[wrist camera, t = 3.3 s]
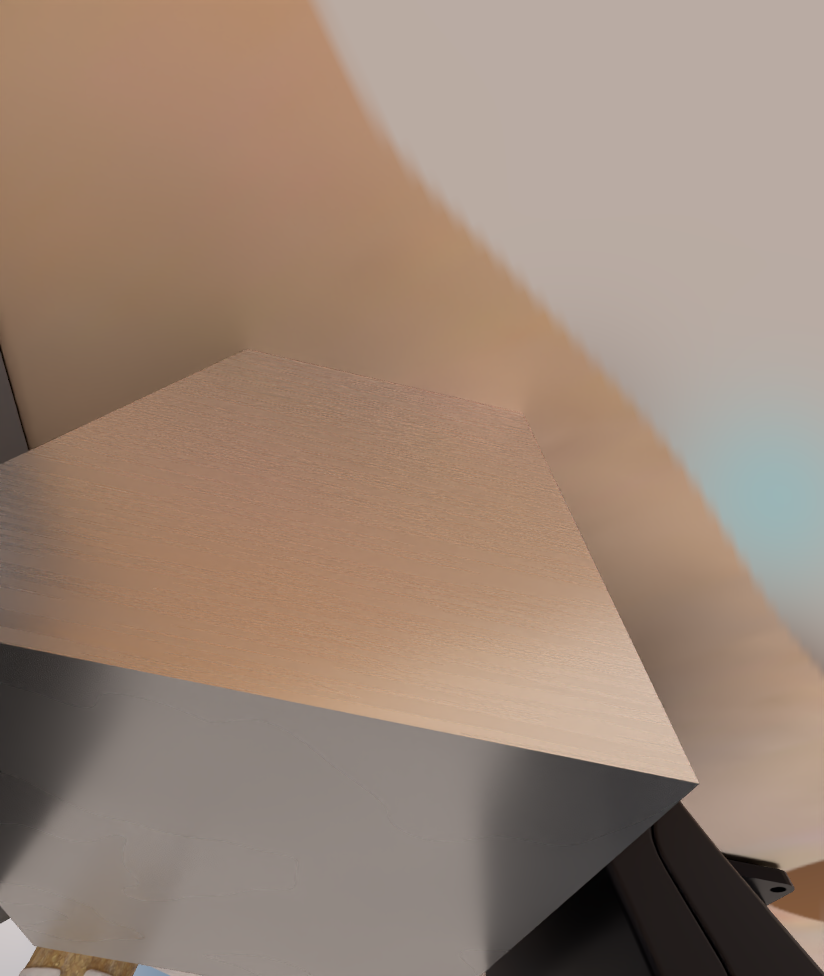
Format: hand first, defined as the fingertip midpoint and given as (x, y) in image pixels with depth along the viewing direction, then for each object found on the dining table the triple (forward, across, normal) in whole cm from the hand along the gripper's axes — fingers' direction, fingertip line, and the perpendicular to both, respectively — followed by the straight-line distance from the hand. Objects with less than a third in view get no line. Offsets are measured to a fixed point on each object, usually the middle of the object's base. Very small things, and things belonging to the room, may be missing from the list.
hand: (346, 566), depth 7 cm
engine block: (+2, 0, 0) cm, 2 cm away
